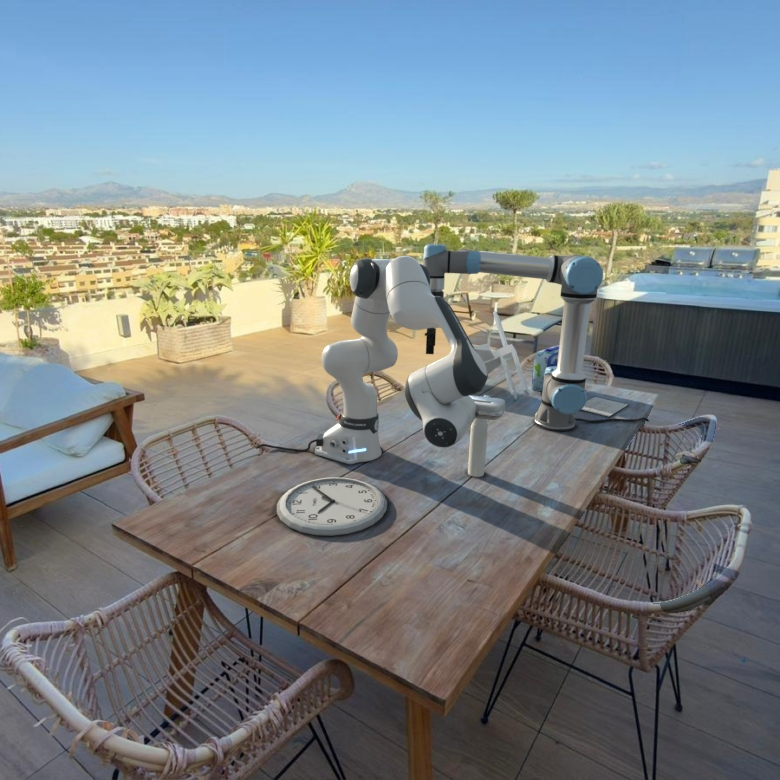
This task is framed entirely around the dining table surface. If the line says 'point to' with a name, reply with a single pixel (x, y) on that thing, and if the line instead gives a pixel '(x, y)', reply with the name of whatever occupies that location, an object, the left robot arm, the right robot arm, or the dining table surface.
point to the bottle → (477, 447)
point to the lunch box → (543, 366)
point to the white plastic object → (502, 358)
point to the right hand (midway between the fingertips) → (430, 349)
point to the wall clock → (331, 506)
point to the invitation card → (603, 406)
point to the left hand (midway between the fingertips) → (469, 396)
